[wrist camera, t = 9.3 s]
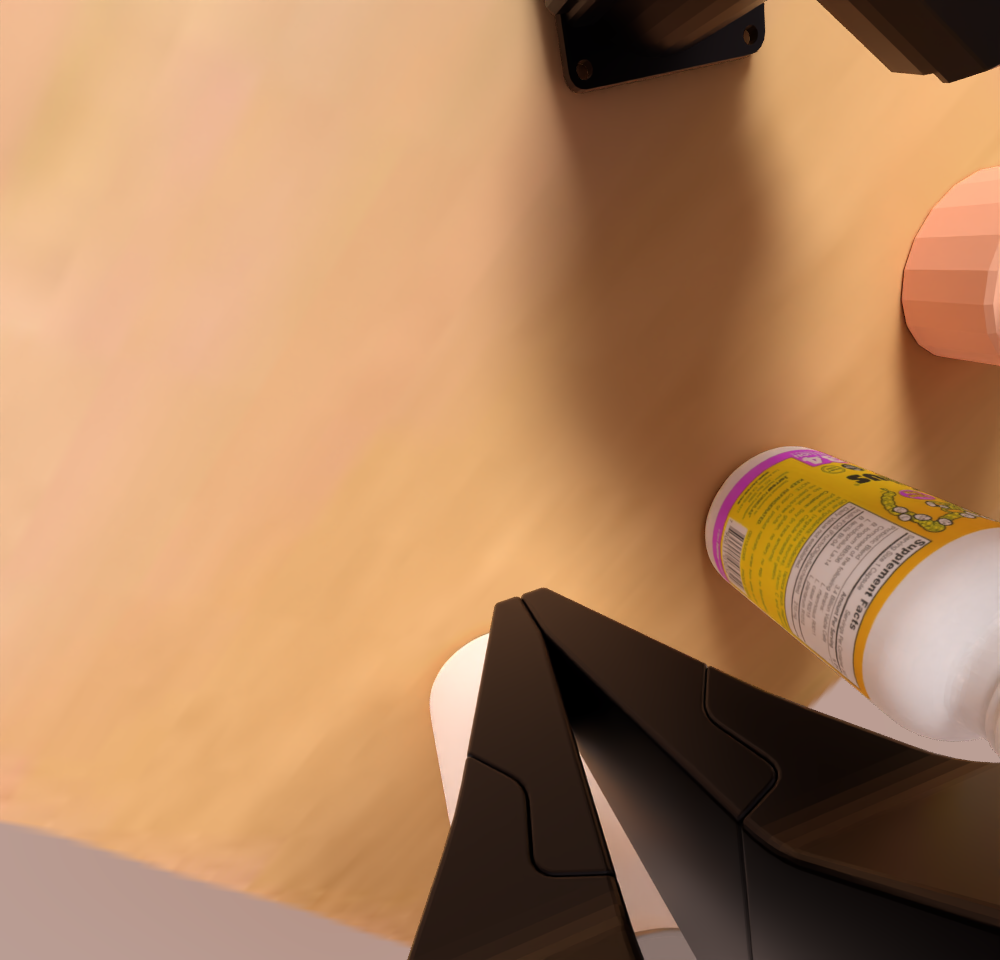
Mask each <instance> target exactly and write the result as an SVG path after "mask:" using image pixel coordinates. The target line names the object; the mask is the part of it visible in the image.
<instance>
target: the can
mask: <svg viewBox="0 0 1000 960" xmlns="http://www.w3.org/2000/svg"><path fill="white" fill-rule="evenodd" d="M488 638H489V633H487V634H485V635H482V636H480V637H478V638H476V639H474V640H472V641H470V642H469V643H467V644H466V645H464V646H463V647H462V648H461V649H459V650H458V651H457V652H456V653H455V654H453V655H452V656H451V657H450V658H449V660H448V661H447V662H446V663H445V664H444V666H443V667H442V668H441V670H440V672H439V673H438V675H437V677H436V679H435V681H434V684H433V687H432V690H431V695H430V714H431V721H432V727H433V733H434V738H435V744H436V750H437V755H438V761H439V766H440V772H441V777H442V783H443V788H444V793H445V799H446V804H447V810H448V815H449V821H450V826H451V824H452V820H453V817H454V813H455V808H456V804H457V799H458V795H459V791H460V786H461V782H462V776H463V771H464V766H465V761H466V759H467V751H468V746H469V740H470V735H471V730H472V724H473V719H474V713H475V708H476V703H477V697H478V692H479V687H480V681H481V676H482V671H483V665H484V660H485V654H486V649H487V644H488ZM579 753H580V752H579ZM580 757H581V760H582V763H583V766H584V770H585V773H586V776H587V780H588V783H589V786H590V790H591V793H592V796H593V800H594V803H595V806H596V810H597V813H598V816H599V820H600V823H601V826H602V830H603V833H604V836H605V839H606V843H607V846H608V849H609V853H610V856H611V859H612V863H613V866H614V869H615V873H616V876H617V881H618V883H619V886H620V889H621V893H622V896H623V899H624V902H625V905H626V909H627V912H628V915H629V918H630V921H631V924H632V927H633V930H634V933H635V936H636V938H637V941H638V944H639V947H640V949H641V952H642V955H643V957H644V960H697V959H696V957H695V956H694V954H693V952H692V950H691V949H690V947H689V945H688V943H687V941H686V940H685V938H684V936H683V934H682V933H681V931H680V929H679V927H678V926H677V924H676V922H675V920H674V918H673V917H672V915H671V913H670V911H669V910H668V908H667V906H666V904H665V903H664V901H663V899H662V897H661V895H660V894H659V892H658V890H657V888H656V887H655V885H654V883H653V881H652V880H651V878H650V876H649V874H648V872H647V871H646V869H645V867H644V865H643V864H642V862H641V860H640V858H639V857H638V855H637V853H636V851H635V849H634V848H633V846H632V844H631V842H630V841H629V839H628V837H627V835H626V834H625V832H624V830H623V828H622V827H621V825H620V823H619V821H618V819H617V818H616V816H615V814H614V812H613V811H612V809H611V807H610V805H609V804H608V802H607V800H606V798H605V796H604V795H603V793H602V791H601V789H600V788H599V786H598V784H597V782H596V781H595V779H594V777H593V775H592V773H591V772H590V770H589V768H588V766H587V765H586V763H585V761H584V759H583V758H582V756H581V754H580Z"/></svg>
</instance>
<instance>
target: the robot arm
mask: <svg viewBox="0 0 1000 960" xmlns="http://www.w3.org/2000/svg"><path fill="white" fill-rule="evenodd" d="M544 1H545V6H546V8H547V9H548V10H549V11H550V13H551V14H552V15H555V20H556V27H557V33H558V40H559V47H560V53H561V60H562V67H563V73H564V78H565V81H566V84H567V86H568V87H569V88H570V90H572V91H574V92H576V93H585V92H590V91H594V90H599V89H603V88H608V87H613V86H617V85H622V84H627V83H631V82H636V81H641V80H645V79H650V78H654V77H659V76H664V75H668V74H673V73H678V72H682V71H687V70H691V69H696V68H701V67H705V66H710V65H715V64H719V63H724V62H728V61H733V60H738V59H742V58H745V57H747V56H749V55H751V54H753V53H755V52H757V51H758V50H759V48H760V47H761V46H762V43H763V41H764V36H765V17H764V2H765V1H767V0H544ZM817 1H818V2H819V3H820V4H821V5H822V6H823V7H824V8H825V9H826V10H828V11H829V12H830V13H831V14H832V15H833V16H834V17H835V18H836V19H837V20H838V21H839V22H840V23H841V24H842V25H843V26H844V27H845V28H846V29H847V30H848V31H849V32H850V33H851V34H853V35H854V36H855V37H856V38H857V39H858V40H859V41H860V42H861V43H862V44H863V45H864V46H865V47H866V48H867V49H868V50H869V51H870V52H871V53H872V54H873V55H874V56H875V57H877V58H878V59H879V60H880V61H881V62H882V63H883V64H884V65H885V66H886V67H887V68H888V69H889V70H890V71H891V72H897V73H907V74H918V75H927V74H932V73H934V74H935V75H936V76H937V77H938V78H939V79H940V80H941V81H942V82H943V83H951V82H954V81H957V80H960V79H963V78H966V77H969V76H973V75H976V74H979V73H982V72H985V71H988V70H990V69H993V68H996V67H998V66H1000V0H817ZM744 30H746V31H747V32H748V33H749V36H750V40H749V44H746V43H745V42H744V38H743V34H744ZM578 64H583V65H584V66H585V67H586V69H587V72H588V74H587V79H586V80H582V79H581V78H579V77H578V75H577V72H576V70H577V65H578ZM579 752H580V753H579ZM580 754H581V756H582V758H583V759H584V761H585V763H586V765H587V766H588V768H589V770H590V772H591V773H592V775H593V777H594V779H595V781H596V782H597V784H598V786H599V788H600V789H601V791H602V793H603V795H604V796H605V798H606V800H607V802H608V804H609V805H610V807H611V809H612V811H613V812H614V814H615V816H616V818H617V819H618V821H619V823H620V825H621V827H622V828H623V830H624V832H625V834H626V835H627V837H628V839H629V841H630V842H631V844H632V846H633V848H634V849H635V851H636V853H637V855H638V857H639V858H640V860H641V862H642V864H643V865H644V867H645V869H646V871H647V872H648V874H649V876H650V878H651V880H652V881H653V883H654V885H655V887H656V888H657V890H658V892H659V894H660V895H661V897H662V899H663V901H664V903H665V904H666V906H667V908H668V910H669V911H670V913H671V915H672V917H673V918H674V920H675V922H676V924H677V926H678V927H679V929H680V931H681V933H682V934H683V936H684V938H685V940H686V941H687V943H688V945H689V947H690V949H691V950H692V952H693V954H694V956H695V957H696V959H697V960H1000V763H990V762H976V761H968V760H962V759H956V758H952V757H948V756H944V755H940V754H936V753H933V752H929V751H926V750H923V749H920V748H917V747H914V746H911V745H908V744H906V743H903V742H900V741H898V740H895V739H892V738H890V737H887V736H884V735H881V734H879V733H876V732H873V731H870V730H868V729H865V728H862V727H859V726H857V725H854V724H851V723H848V722H846V721H843V720H840V719H838V718H835V717H832V716H829V715H827V714H824V713H821V712H818V711H816V710H813V709H810V708H808V707H805V706H803V705H800V704H797V703H795V702H792V701H790V700H787V699H785V698H782V697H779V696H777V695H774V694H772V693H769V692H767V691H764V690H762V689H760V688H758V687H755V686H753V685H751V684H749V683H746V682H744V681H742V680H740V679H737V678H735V677H733V676H731V675H729V674H727V673H724V672H722V671H720V670H718V669H716V668H714V667H712V666H709V667H708V668H707V665H706V664H705V663H703V662H701V661H699V660H697V659H695V658H692V657H690V656H688V655H686V654H684V653H682V652H680V651H678V650H676V649H673V648H671V647H669V646H667V645H665V644H663V643H661V642H659V641H657V640H655V639H652V638H650V637H648V636H646V635H644V634H642V633H640V632H638V631H636V630H633V629H631V628H629V627H627V626H625V625H623V624H621V623H619V622H617V621H615V620H612V619H610V618H608V617H606V616H604V615H602V614H600V613H598V612H596V611H593V610H591V609H589V608H587V607H585V606H583V605H581V604H579V603H577V602H575V601H572V600H570V599H568V598H566V597H564V596H562V595H560V594H558V593H556V592H553V591H551V590H549V589H547V588H539V589H536V590H534V591H531V592H528V593H525V594H523V595H522V596H521V598H519V597H513V598H510V599H507V600H504V601H501V602H499V603H497V604H496V605H495V607H494V612H493V617H492V622H491V628H490V633H489V638H488V644H487V649H486V654H485V660H484V665H483V671H482V676H481V681H480V687H479V692H478V697H477V703H476V708H475V713H474V719H473V724H472V730H471V735H470V740H469V746H468V751H467V759H466V761H465V766H464V771H463V776H462V782H461V786H460V791H459V795H458V799H457V804H456V808H455V813H454V817H453V820H452V824H451V827H450V830H449V834H448V837H447V840H446V844H445V847H444V850H443V854H442V857H441V860H440V863H439V866H438V869H437V872H436V875H435V878H434V881H433V884H432V887H431V890H430V893H429V896H428V899H427V902H426V905H425V908H424V911H423V914H422V917H421V920H420V923H419V926H418V929H417V932H416V935H415V938H414V941H413V944H412V947H411V950H410V953H409V956H408V959H407V960H644V957H643V955H642V952H641V949H640V947H639V944H638V941H637V938H636V936H635V933H634V930H633V927H632V924H631V921H630V918H629V915H628V912H627V909H626V905H625V902H624V899H623V896H622V893H621V889H620V886H619V883H618V881H617V876H616V873H615V869H614V866H613V863H612V859H611V856H610V853H609V849H608V846H607V843H606V839H605V836H604V833H603V830H602V826H601V823H600V820H599V816H598V813H597V810H596V806H595V803H594V800H593V796H592V793H591V790H590V786H589V783H588V780H587V776H586V773H585V770H584V766H583V763H582V760H581V757H580Z"/></svg>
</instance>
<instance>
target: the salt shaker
mask: <svg viewBox="0 0 1000 960" xmlns="http://www.w3.org/2000/svg"><path fill="white" fill-rule="evenodd" d="M902 303H903V308H904V314H905V319H906V324H907V326H908V328H909V330H910V331H911V333H912V335H913V336H914V338H915V340H916V341H917V343H918V344H919V345H920V346H922V347H923V348H925V349H926V350H928V351H929V352H931V353H932V354H934V355H935V356H942V357H948V358H954V359H961V360H967V361H973V362H979V363H986V364H992V365H998V366H1000V166H997V167H992V168H987V169H982V170H979V171H977V172H976V173H974V174H972V175H971V176H969V177H967V178H966V179H964V180H962V181H961V182H959V183H957V184H956V185H954V186H953V187H952V188H951V190H950V191H949V192H948V193H947V194H946V195H945V196H944V197H943V198H942V199H941V200H940V201H939V202H938V203H937V204H936V205H935V206H934V207H933V209H932V210H931V212H930V213H929V215H928V217H927V218H926V220H925V222H924V223H923V225H922V227H921V229H920V230H919V232H918V234H917V235H916V237H915V239H914V242H913V245H912V248H911V251H910V254H909V257H908V260H907V263H906V266H905V269H904V280H903V292H902Z"/></svg>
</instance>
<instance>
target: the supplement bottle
mask: <svg viewBox="0 0 1000 960" xmlns="http://www.w3.org/2000/svg"><path fill="white" fill-rule="evenodd" d="M705 541H706V548H707V552H708V555H709V558H710V560H711V562H712V564H713V566H714V568H715V569H716V570H717V572H718V573H719V574H720V575H721V576H722V577H723V578H724V579H725V580H726V581H727V582H728V583H730V584H731V585H732V586H733V587H734V588H735V589H737V590H738V591H739V592H740V593H741V594H743V595H744V596H745V597H746V598H747V599H749V600H750V601H751V602H752V603H753V604H755V605H756V606H757V607H758V608H759V609H761V610H762V611H763V612H764V613H765V614H767V615H768V616H769V617H770V618H771V619H773V620H774V621H775V622H776V623H777V624H779V625H780V626H781V627H782V628H783V629H785V630H786V631H787V632H788V633H789V634H791V635H792V636H793V637H794V638H795V639H797V640H798V641H799V642H800V643H801V644H803V645H804V646H805V647H806V648H807V649H809V650H810V651H811V652H812V653H813V654H815V655H816V656H817V657H818V658H819V659H821V660H822V661H823V662H824V663H825V664H827V665H828V666H829V667H830V668H831V669H833V670H834V671H835V672H836V673H837V674H839V675H840V676H841V677H842V678H843V679H845V680H846V681H847V682H848V683H849V684H851V685H852V686H853V687H854V688H855V689H857V690H858V691H859V692H860V693H861V694H862V695H864V696H865V697H866V698H867V699H868V700H870V701H871V702H872V703H873V704H874V705H875V706H877V707H878V708H879V709H880V710H881V711H883V712H884V713H885V714H886V715H888V716H889V717H890V718H891V719H892V720H893V721H895V722H896V723H898V724H899V725H900V726H902V727H904V728H906V729H907V730H909V731H911V732H913V733H916V734H918V735H920V736H923V737H927V738H930V739H935V740H941V741H953V742H954V741H969V740H976V739H980V738H984V739H986V740H987V741H988V742H989V744H990V747H991V748H992V749H993V750H994V751H995V752H996V753H997V754H998V756H999V758H1000V522H998V521H995V520H993V519H990V518H987V517H985V516H982V515H979V514H977V513H975V512H972V511H970V510H967V509H965V508H962V507H960V506H957V505H954V504H952V503H949V502H947V501H944V500H942V499H940V498H937V497H935V496H932V495H930V494H927V493H924V492H922V491H920V490H917V489H914V488H911V487H909V486H907V485H904V484H902V483H899V482H897V481H894V480H891V479H889V478H887V477H884V476H882V475H879V474H877V473H874V472H872V471H869V470H866V469H864V468H861V467H859V466H856V465H854V464H851V463H849V462H846V461H844V460H841V459H838V458H836V457H833V456H830V455H828V454H825V453H822V452H819V451H816V450H813V449H810V448H806V447H799V446H785V447H779V448H775V449H771V450H768V451H765V452H762V453H760V454H758V455H756V456H754V457H752V458H751V459H749V460H748V461H746V462H745V463H743V464H742V465H741V466H739V467H738V468H737V469H736V470H735V471H734V472H733V473H732V474H731V475H730V476H729V477H728V478H727V479H726V481H725V482H724V484H723V485H722V487H721V488H720V490H719V491H718V493H717V495H716V497H715V498H714V500H713V503H712V505H711V507H710V510H709V513H708V517H707V521H706V528H705Z"/></svg>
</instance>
